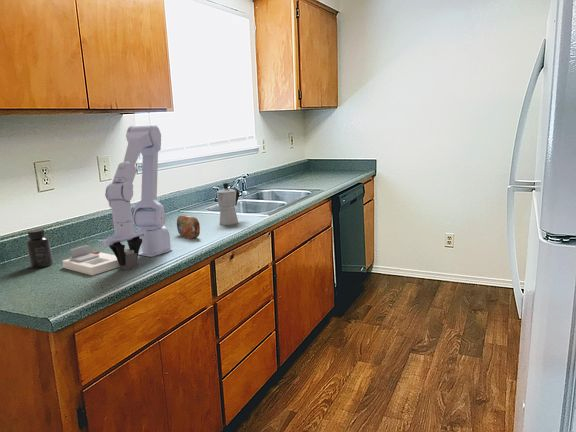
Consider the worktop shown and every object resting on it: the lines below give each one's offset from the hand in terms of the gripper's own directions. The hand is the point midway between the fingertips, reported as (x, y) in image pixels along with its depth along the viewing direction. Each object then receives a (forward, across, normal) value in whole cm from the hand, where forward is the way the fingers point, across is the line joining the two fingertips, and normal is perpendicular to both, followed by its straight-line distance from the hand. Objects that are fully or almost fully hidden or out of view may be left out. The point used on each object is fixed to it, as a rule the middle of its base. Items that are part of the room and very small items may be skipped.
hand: (128, 263), depth 147 cm
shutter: (-1, +6, -16) cm, 17 cm away
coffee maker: (+2, -64, -16) cm, 65 cm away
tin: (+2, -38, -14) cm, 40 cm away
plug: (+1, 0, 0) cm, 1 cm away
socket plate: (+1, +4, -12) cm, 13 cm away
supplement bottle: (+2, +12, -30) cm, 33 cm away
